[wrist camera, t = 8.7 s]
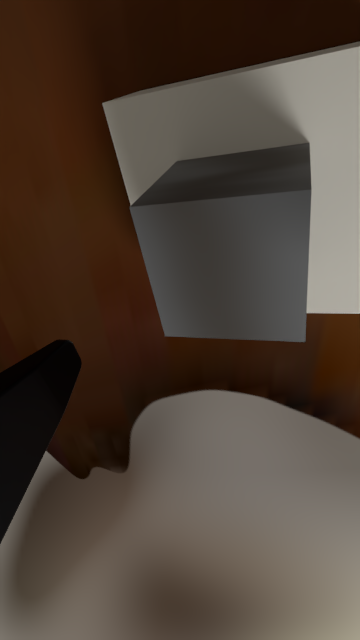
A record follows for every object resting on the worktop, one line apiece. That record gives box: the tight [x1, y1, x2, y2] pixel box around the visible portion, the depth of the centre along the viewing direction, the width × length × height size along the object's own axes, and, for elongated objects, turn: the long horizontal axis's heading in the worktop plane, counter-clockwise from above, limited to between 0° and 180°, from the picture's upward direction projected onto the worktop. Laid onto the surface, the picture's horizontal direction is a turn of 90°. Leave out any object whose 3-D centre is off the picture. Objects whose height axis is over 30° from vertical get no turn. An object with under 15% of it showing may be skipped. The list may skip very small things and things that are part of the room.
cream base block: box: [102, 41, 360, 314], centre depth 16 cm, size 10×10×4 cm
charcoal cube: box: [129, 143, 312, 342], centre depth 12 cm, size 5×5×5 cm
